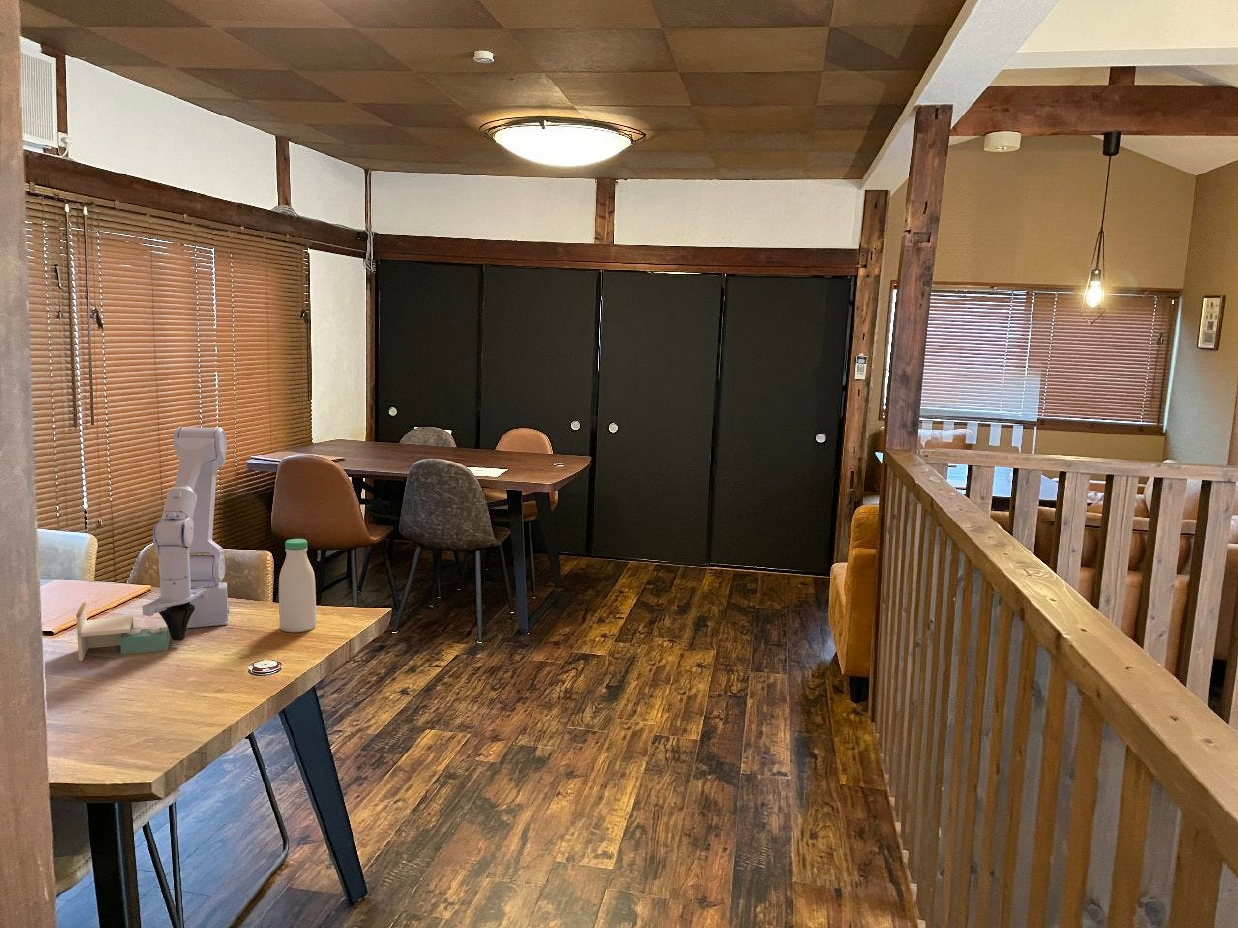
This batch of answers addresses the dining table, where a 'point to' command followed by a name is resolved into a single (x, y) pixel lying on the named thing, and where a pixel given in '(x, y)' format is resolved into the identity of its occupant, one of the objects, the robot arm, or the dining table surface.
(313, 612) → the milk bottle
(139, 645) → the teal block
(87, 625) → the beige flanged peg
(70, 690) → the dining table surface
